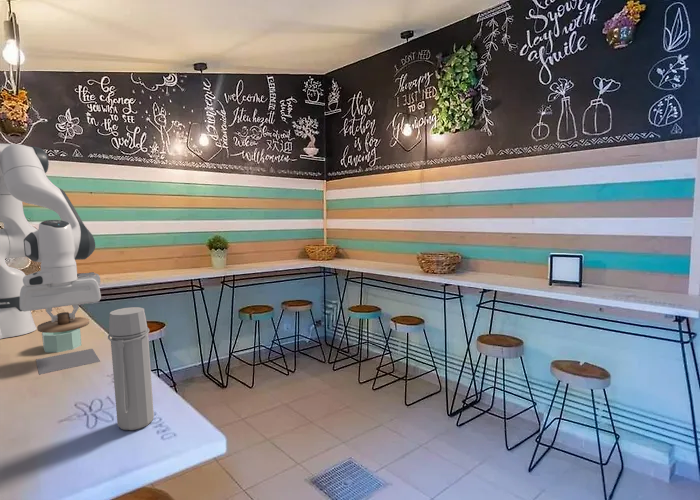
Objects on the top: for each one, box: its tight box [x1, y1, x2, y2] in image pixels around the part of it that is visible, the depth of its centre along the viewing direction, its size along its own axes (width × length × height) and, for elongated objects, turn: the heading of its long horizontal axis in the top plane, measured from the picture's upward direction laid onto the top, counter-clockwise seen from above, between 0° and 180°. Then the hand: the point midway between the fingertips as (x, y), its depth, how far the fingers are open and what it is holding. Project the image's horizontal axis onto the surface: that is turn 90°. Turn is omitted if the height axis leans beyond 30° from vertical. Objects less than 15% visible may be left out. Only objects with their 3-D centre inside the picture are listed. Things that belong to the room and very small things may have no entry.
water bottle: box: [107, 306, 155, 431], centre depth 91 cm, size 9×8×25 cm
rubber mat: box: [35, 348, 101, 375], centre depth 131 cm, size 15×15×1 cm
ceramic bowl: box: [41, 328, 82, 353], centre depth 143 cm, size 10×10×6 cm
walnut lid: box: [36, 311, 90, 333], centre depth 129 cm, size 13×13×4 cm
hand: (63, 320), depth 129 cm, fingers closed on walnut lid, 3 cm apart
